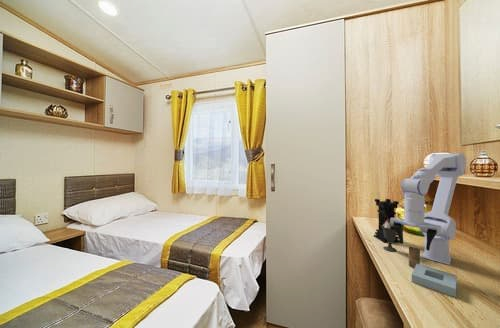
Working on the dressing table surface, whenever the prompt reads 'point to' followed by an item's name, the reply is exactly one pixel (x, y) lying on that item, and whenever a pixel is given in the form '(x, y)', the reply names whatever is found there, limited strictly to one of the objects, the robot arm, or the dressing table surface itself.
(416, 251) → the peg
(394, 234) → the sundae
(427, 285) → the socket block
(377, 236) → the chess piece
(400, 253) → the dressing table surface
